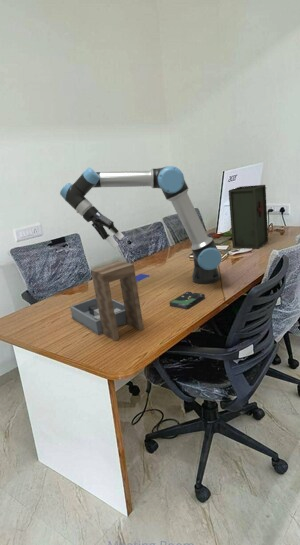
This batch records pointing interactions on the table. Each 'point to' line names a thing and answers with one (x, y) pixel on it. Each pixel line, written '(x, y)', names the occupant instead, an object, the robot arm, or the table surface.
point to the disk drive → (187, 300)
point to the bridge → (129, 294)
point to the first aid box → (248, 216)
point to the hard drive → (141, 277)
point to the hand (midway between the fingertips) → (119, 242)
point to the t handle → (95, 311)
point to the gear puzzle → (219, 236)
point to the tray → (85, 318)
